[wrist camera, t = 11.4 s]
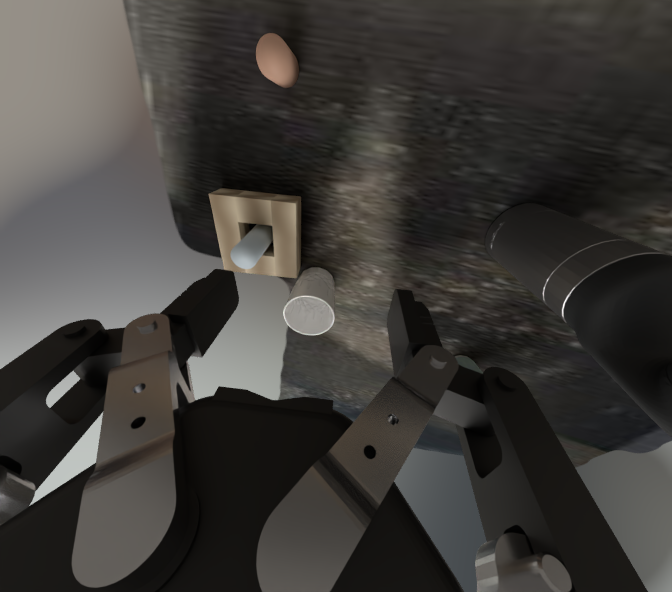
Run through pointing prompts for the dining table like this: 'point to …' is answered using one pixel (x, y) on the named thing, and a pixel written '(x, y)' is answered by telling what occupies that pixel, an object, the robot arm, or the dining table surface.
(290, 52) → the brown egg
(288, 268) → the hole block
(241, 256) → the long dowel
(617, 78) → the dining table surface
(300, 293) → the white cup
